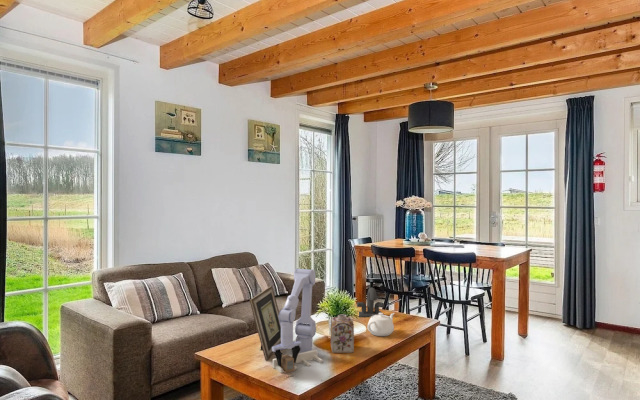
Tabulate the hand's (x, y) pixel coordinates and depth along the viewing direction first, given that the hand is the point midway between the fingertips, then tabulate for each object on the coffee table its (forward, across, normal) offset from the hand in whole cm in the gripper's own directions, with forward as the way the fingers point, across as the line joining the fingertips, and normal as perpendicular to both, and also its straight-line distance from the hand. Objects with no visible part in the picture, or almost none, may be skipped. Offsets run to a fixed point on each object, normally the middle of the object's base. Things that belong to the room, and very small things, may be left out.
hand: (286, 363), depth 200 cm
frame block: (+3, 0, 0) cm, 3 cm away
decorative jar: (+3, +37, +8) cm, 38 cm away
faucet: (+3, +88, +48) cm, 100 cm away
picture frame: (+3, +4, +30) cm, 30 cm away
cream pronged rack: (+3, +7, +2) cm, 8 cm away
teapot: (+3, +72, +18) cm, 74 cm away
